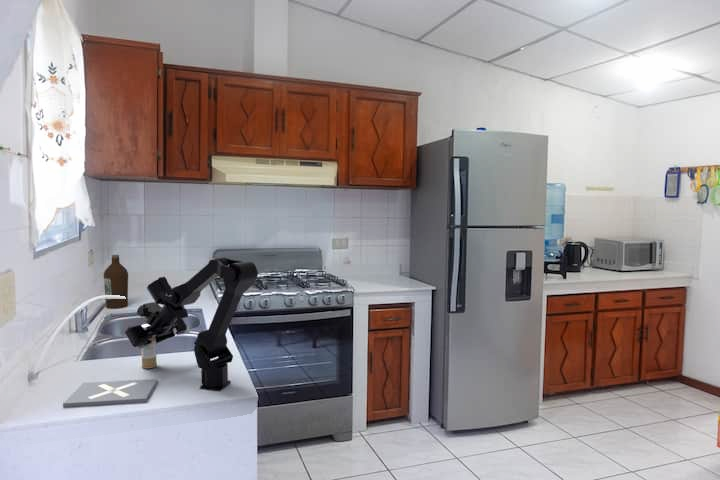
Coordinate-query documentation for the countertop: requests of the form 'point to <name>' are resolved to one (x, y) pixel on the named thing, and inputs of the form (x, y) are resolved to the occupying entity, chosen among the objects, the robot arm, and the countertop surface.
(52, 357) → the countertop surface
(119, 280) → the olive oil
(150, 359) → the sprinkles bottle
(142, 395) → the board
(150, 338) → the robot arm
